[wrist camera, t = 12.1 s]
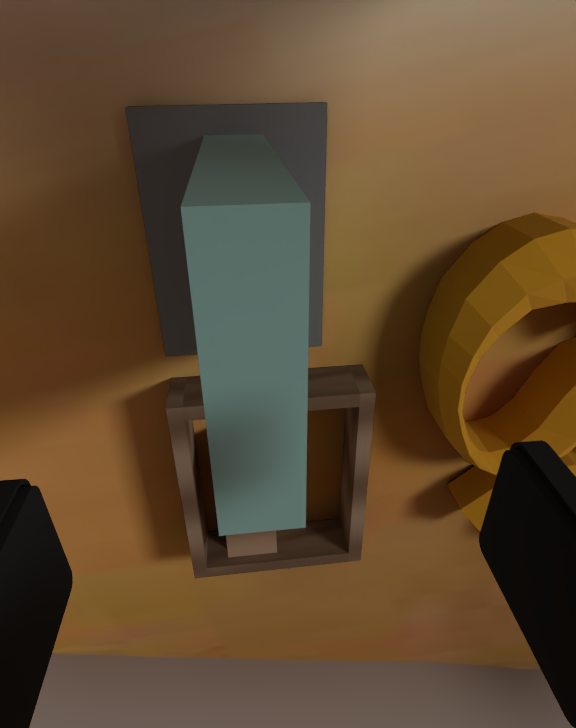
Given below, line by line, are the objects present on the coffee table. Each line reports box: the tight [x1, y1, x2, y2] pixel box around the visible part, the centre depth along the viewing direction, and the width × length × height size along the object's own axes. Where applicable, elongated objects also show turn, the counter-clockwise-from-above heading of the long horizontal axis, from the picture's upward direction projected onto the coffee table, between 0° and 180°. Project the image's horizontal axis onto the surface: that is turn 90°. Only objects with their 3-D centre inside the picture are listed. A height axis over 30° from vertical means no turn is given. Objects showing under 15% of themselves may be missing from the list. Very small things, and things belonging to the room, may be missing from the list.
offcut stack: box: [226, 530, 277, 558], centre depth 36 cm, size 11×4×5 cm, turn 1°
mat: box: [125, 102, 327, 356], centre depth 28 cm, size 14×10×1 cm
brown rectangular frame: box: [166, 365, 376, 578], centre depth 36 cm, size 16×13×4 cm
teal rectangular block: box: [181, 134, 310, 536], centre depth 21 cm, size 11×3×16 cm, turn 1°
